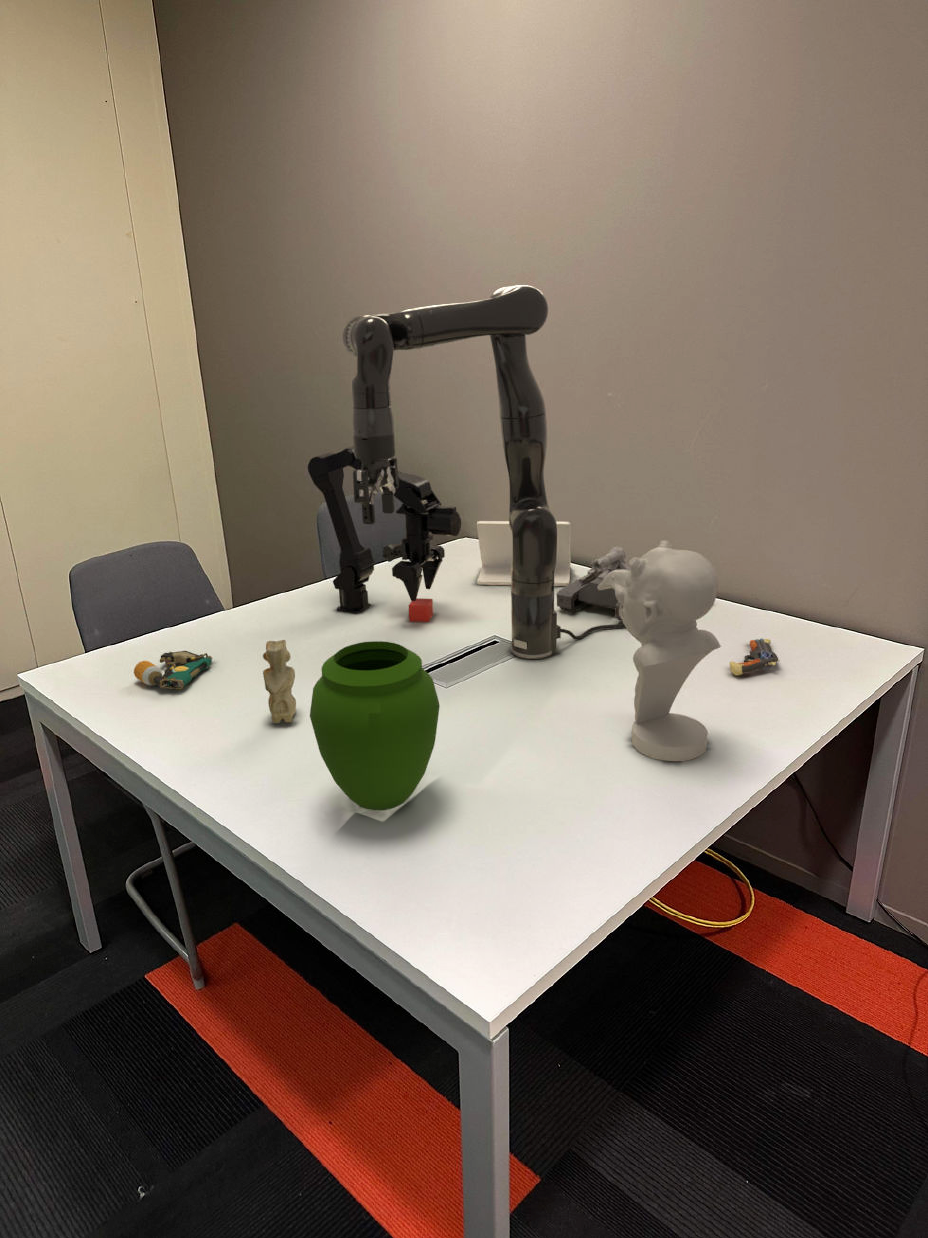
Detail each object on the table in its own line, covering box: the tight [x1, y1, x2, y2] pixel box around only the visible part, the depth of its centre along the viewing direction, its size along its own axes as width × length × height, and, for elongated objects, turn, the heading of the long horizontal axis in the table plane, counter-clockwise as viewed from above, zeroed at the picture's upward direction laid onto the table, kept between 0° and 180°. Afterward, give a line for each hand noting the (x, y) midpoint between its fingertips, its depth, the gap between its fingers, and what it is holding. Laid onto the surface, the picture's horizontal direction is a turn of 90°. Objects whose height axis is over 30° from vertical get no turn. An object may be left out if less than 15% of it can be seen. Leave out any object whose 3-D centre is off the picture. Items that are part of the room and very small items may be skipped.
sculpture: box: [262, 639, 297, 724], centre depth 158 cm, size 6×7×15 cm
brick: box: [408, 597, 434, 623], centre depth 209 cm, size 5×5×4 cm
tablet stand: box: [476, 520, 572, 587], centre depth 236 cm, size 18×25×17 cm
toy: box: [556, 546, 630, 622], centre depth 212 cm, size 25×20×15 cm
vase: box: [309, 640, 441, 811], centre depth 130 cm, size 20×20×24 cm
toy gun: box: [729, 638, 780, 676], centre depth 179 cm, size 3×19×10 cm
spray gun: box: [133, 650, 213, 690], centre depth 180 cm, size 4×17×15 cm
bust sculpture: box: [597, 540, 722, 762], centre depth 146 cm, size 16×24×35 cm
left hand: (420, 594), depth 208 cm, fingers open, 9 cm apart
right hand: (379, 518), depth 162 cm, fingers open, 8 cm apart
